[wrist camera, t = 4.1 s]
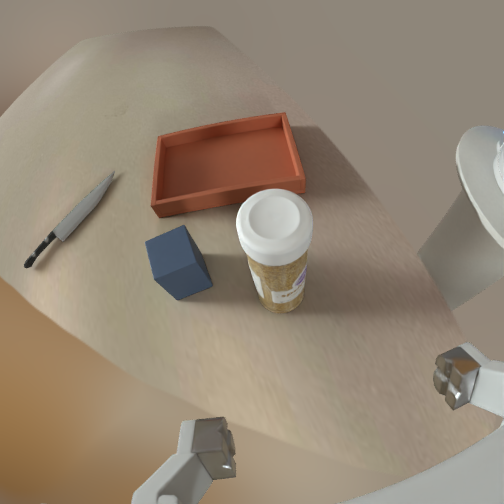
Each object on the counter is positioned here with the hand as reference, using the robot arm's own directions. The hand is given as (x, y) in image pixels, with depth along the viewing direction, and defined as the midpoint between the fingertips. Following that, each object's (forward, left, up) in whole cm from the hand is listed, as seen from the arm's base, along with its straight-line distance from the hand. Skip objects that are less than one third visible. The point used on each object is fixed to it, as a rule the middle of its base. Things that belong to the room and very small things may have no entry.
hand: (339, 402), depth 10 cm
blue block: (+10, -13, -17) cm, 24 cm away
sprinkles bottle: (+1, -10, -17) cm, 20 cm away
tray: (+5, -27, -17) cm, 33 cm away
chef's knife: (+27, -23, -17) cm, 40 cm away
